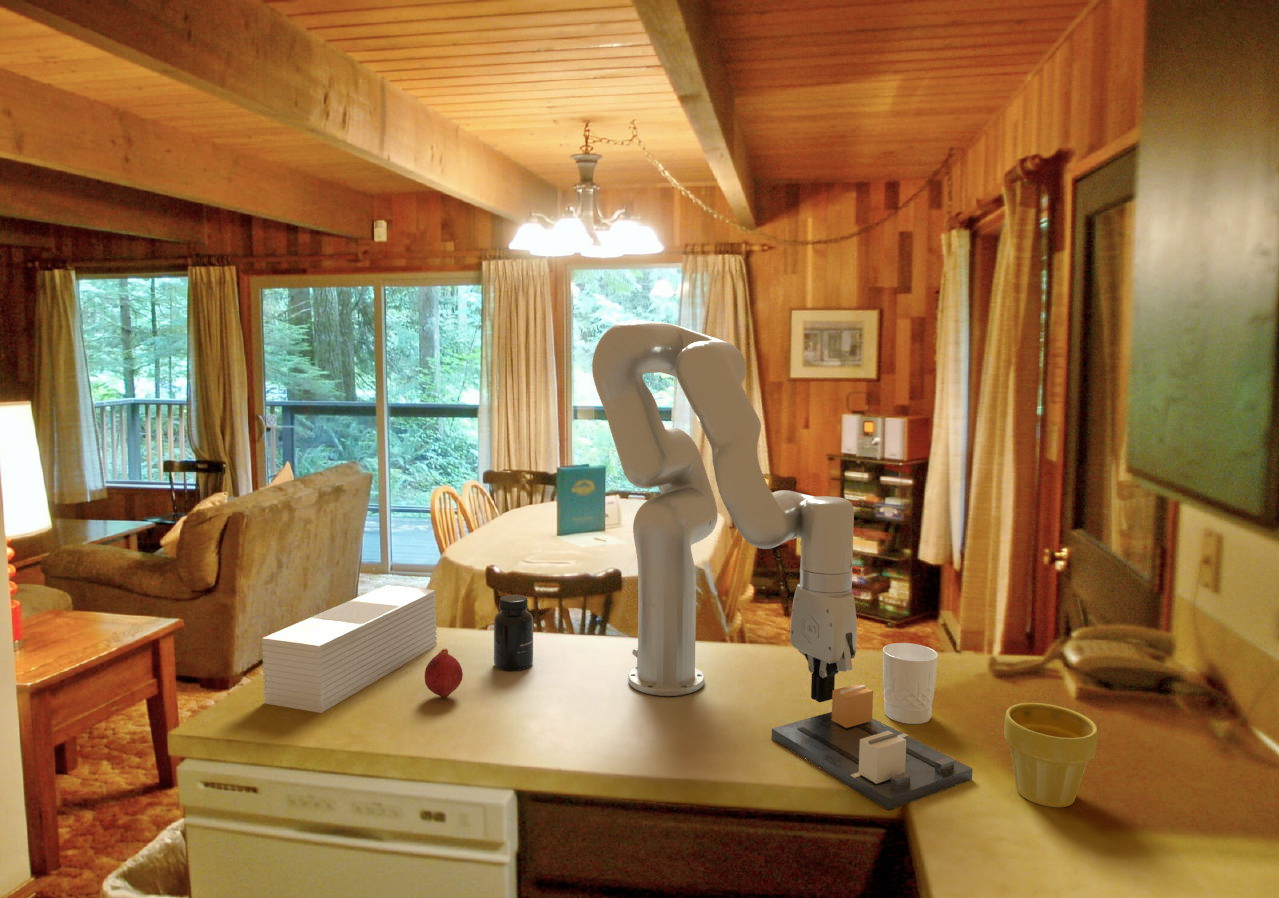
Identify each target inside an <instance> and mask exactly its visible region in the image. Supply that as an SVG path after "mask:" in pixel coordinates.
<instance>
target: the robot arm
mask: <svg viewBox="0 0 1279 898" xmlns="http://www.w3.org/2000/svg"><path fill="white" fill-rule="evenodd" d="M591 363H592V366H591V367H592V368H591V369H592V371H591V372H592V378H593V382H594V386H595V388H596V391H597V394H598V397H599V399H600V402H601V405H602V407H603V409H604V414H605V415H606V418H607V423H608V428H609V430H610V434H611V436H612V439H613V442H614V446H615V449H616V453H617V454H618V459H619V462H620V465H621V467H622V470H623V473H624V475H625V478H626V479H627V481H628V482H629V483H630V484H631V485H633V486H634V487H637V488H639V489H653V488H658V490H659V493H660V494H658V495H655V496H653V497H651V498H649V499H647V500H646V501H645V502H644V503H642V504H641V506H639V508H638V509H637V512H636V513H635V516H634V520H633V525H632V532H633V540H634V546H635V551H636V559H637V561H636V562H637V592H638V593H637V595H638V596H637V599H638V601H637V603H638V605H637V606H638V608H637V609H638V610H637V647H636V648H634V649H632V653H631V654H632V655H633V656H634V657H636V660H637V662H636V663H637V664H636V667H633V669H631V670H630V672H628V676H627V677H628V684H629V686H631V687H632V688H633V689H635V690H636V691H638V692H641V693H644V694H647V695H652V696H659V697H662V696H663V697H675V696H684V695H689V694H691V693H695V692H696V691H698V690H700V689H701V688H702V687H703V686H704V684H705V674H704V673H703V672H702V671H701V670H700V669H699V668H698V667H696V628H697V627H696V626H697V625H696V623H697V620H696V619H697V618H696V617H697V613H696V612H697V573H696V565H695V562H694V558H693V553H692V546H693V545H694V544H697V543H698V542H701V541H703V540H705V538H707V537H709V536H710V535H711V534H712V532H714V530H715V528H716V525H717V523H718V518H719V517H718V506H717V503H716V498H715V495H714V492H713V489H712V486H711V482H710V480H709V476H708V473H707V471H706V468H705V464H704V462H703V457H702V455H701V452H700V450H699V448H698V446H697V444H696V442H695V441H694V439H693V438H692V437H691V436H690V435H689V434H688V433H686V432H685V431H684V430H682V429H679V428H676V427H673V426H672V427H670V426H668V427H665V425H664V422H663V420H662V417H661V415H660V412H659V408H658V404H657V401H656V399H655V397H654V395H653V393H652V392H651V390H650V389H649V387H648V385H646V383H645V380H644V378H643V377H644V376H643V375H644V374H652V373H653V374H654V373H660V374H661V373H662V374H665V375H668V376H673V377H675V378H676V379H677V382H678V383H679V386H680V388H681V390H682V391H683V393H684V395H685V397H686V399H687V402H688V403H689V405H690V407H691V409H692V411H693V413H694V415H695V417H696V419H697V421H698V423H699V425H700V428H701V429H702V431H703V433H704V434H705V436H706V439H707V441H708V443H709V445H710V448H711V454H712V455H711V456H712V464H713V472H714V476H715V477H714V479H715V482H716V487H717V490H718V493H719V495H720V496H719V497H720V498H721V500H722V503H723V504H724V507H725V508H726V510H727V514H729V516H730V519H731V520H732V522H733V524H734V526H735V528H736V530H737V531H738V532H739V534H740V536H742V537H743V539H744V540H745V541H746V542H748V544H750V545H751V546H753V547H755V548H758V549H762V550H767V549H773V548H776V547H778V546H780V545H782V544H784V543H785V542H788V541H791V540H794V539H795V540H796V539H798V538H799V539H800V567H799V569H798V571H799V574H800V575H799V583H798V584H797V586H796V588H795V592H794V596H793V600H792V601H793V602H792V607H791V614H790V615H791V616H790V629H789V631H790V632H789V634H790V635H789V639H790V644H791V646H792V647H793V648H794V649H795V650H797V652H799V653H800V654H802V655H803V656H804V657H805V659H806V661H807V665H808V666H807V667H808V672H810V674H811V679H810V680H811V684H810V685H811V687H810V688H811V689H810V692H811V693H810V698H811V699H812V700H814V701H816V702H818V703H822V702H827V701H832V694H833V690H835V685H836V684H835V683H836V682H835V680H836V678H835V677H836V676H837V675H838V674H839V672H843V673H844V672H849V671H852V670H853V663H852V659H854V658H855V656H856V653H857V647H858V646H857V644H858V643H857V642H858V630H857V629H858V625H857V624H858V623H857V613H856V612H857V610H856V602H855V597H854V593H853V592H852V587H853V586H852V583H853V552H854V549H853V548H854V526H855V525H854V524H855V519H854V518H855V509H854V505H853V504H852V502H851V501H850V500H849V499H846V498H844V497H838V496H829V495H827V496H826V495H823V496H821V495H820V496H816V495H815V496H814V495H810V494H805V493H801V492H797V491H792V490H786V489H785V490H783V489H782V490H776V491H774V492H772V491H771V489H770V487H769V485H768V483H767V481H766V479H765V476H764V474H763V472H762V469H761V466H760V463H759V456H758V445H759V444H758V443H759V439H760V435H761V430H762V427H761V426H762V424H761V420H760V418H759V416H758V414H757V412H756V411H755V409H754V406H753V405H752V404H753V403H751V400H749V397H748V396H747V393H746V391H745V390H744V387H743V385H742V384H743V382H744V380H745V377H746V375H747V364H746V359H745V356H744V355H743V353H742V352H741V350H740V349H739V348H737V346H735V345H734V344H732V343H730V342H728V341H725V340H721V339H718V338H716V337H712V336H709V335H706V334H704V333H701V332H697V331H695V330H692V329H690V328H686V327H683V326H680V325H676V324H675V323H674V324H673V323H669V322H662V321H651V320H643V319H642V320H640V319H639V320H638V319H637V320H636V319H634V320H626V321H622V322H619V323H617V324H615V325H613V326H611V327H610V328H608V330H606V331H605V333H603V335H602V336H601V338H600V339H599V341H598V342H597V345H596V346H595V349H594V352H593V356H592V361H591Z"/></svg>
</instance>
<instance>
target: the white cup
mask: <svg viewBox="0 0 1279 898" xmlns="http://www.w3.org/2000/svg"><path fill="white" fill-rule="evenodd" d="M938 656H939V654H938V652H937V651H936V650H934V649H933V648H930V647H927V646H926V645H921V644H917V643H909V642H896V643H889V644H886V645H885V646H884V647H882V683H883V684H882V685H883V686H882V687H883V688H882V689H883V698H884V701H883V702H884V705H883V706H884V708H883V709H884V713H885V714H884V715H885V716H887V717H888V718H889V719H890V720H892V721H895V722H897V723H903V724H906V725H922V724H926V723H928V722H929V721H930V720H931V718H932V712H933V711H932V710H933V701H934V698H935V697H934V696H935V689H936V679H937V678H936V677H937V668H938V658H939V657H938Z"/></svg>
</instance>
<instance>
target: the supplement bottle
mask: <svg viewBox="0 0 1279 898" xmlns="http://www.w3.org/2000/svg"><path fill="white" fill-rule="evenodd" d="M528 608H529V605H528V597H527V596H525V595H521V594H507V595H504V596H501V597H500V598H499V605H498V609H499V612H497V613H496V614H495V616H494V619H493V665H494V666H495V667H496V668H497V669H499V670H502V671H507V672H508V671H509V672H511V671H512V672H514V671H515V672H516V671H517V672H518V671H523V670H526V669H528V668H530V667H532V665H533V663H534V618H533V615H532V613H531V612H529V610H528Z"/></svg>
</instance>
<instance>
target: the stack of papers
mask: <svg viewBox="0 0 1279 898" xmlns="http://www.w3.org/2000/svg"><path fill="white" fill-rule="evenodd" d="M436 592H437V590H435V589H426V588H419V587H418V588H417V587H410V586H409V587H408V586H398V585H389V584H386V585H384V586H381V587H379V588H376V589H374V590H371V591H369V592H366V593H365V594H362V595H360V596H357V597H355V598H353V599H351V600H348V601H346V602H343V603H341V604H338V605H337V606H336V605H335V606H334V607H331V608H329V609H327V610H324V611H322V612H320V613H317V614H315V615H313V616H311V617H308V618H306V619H302V620H300V621H299V622H297V623H294V624H292V625H289V626H287V627H284V628H282V629H280V630H277V631H275V632H272V633H270V634H268V635H266V636H263V637H261V649H262V655H261V656H262V668H263V669H262V674H263V692H264V694H263V698H264V702H263V703H264V704H267V705H271V706H277V707H283V708H284V707H285V708H291V709H295V710H296V709H297V710H301V711H308V712H313V713H319V714H322V713H324V712H325V711H328V710H329V709H330V708H332V707H334V706H335V705H338V704H339V703H341V702H342V701H344V700H346V699H348V698H350V697H351V696H353V695H354V694H356V693H358V692H359V691H361V690H363V689H365V688H366V687H368V686H369V685H371V684H373V683H375V682H377V681H378V680H380V679H382V678H384V677H385V676H386V675H388V674H391V673H392V672H394V671H395V670H398V668H401V667H402V666H404V665H405V664H407V663H409V662H410V661H412V660H414V659H415V658H418V657H419V656H421V655H422V654H424V653H426V652H428V651H429V650H431V649H432V648H434V647H436V646H437V644H438V642H437V635H438V633H437V601H436V600H437V599H436V598H437V596H436Z"/></svg>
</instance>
